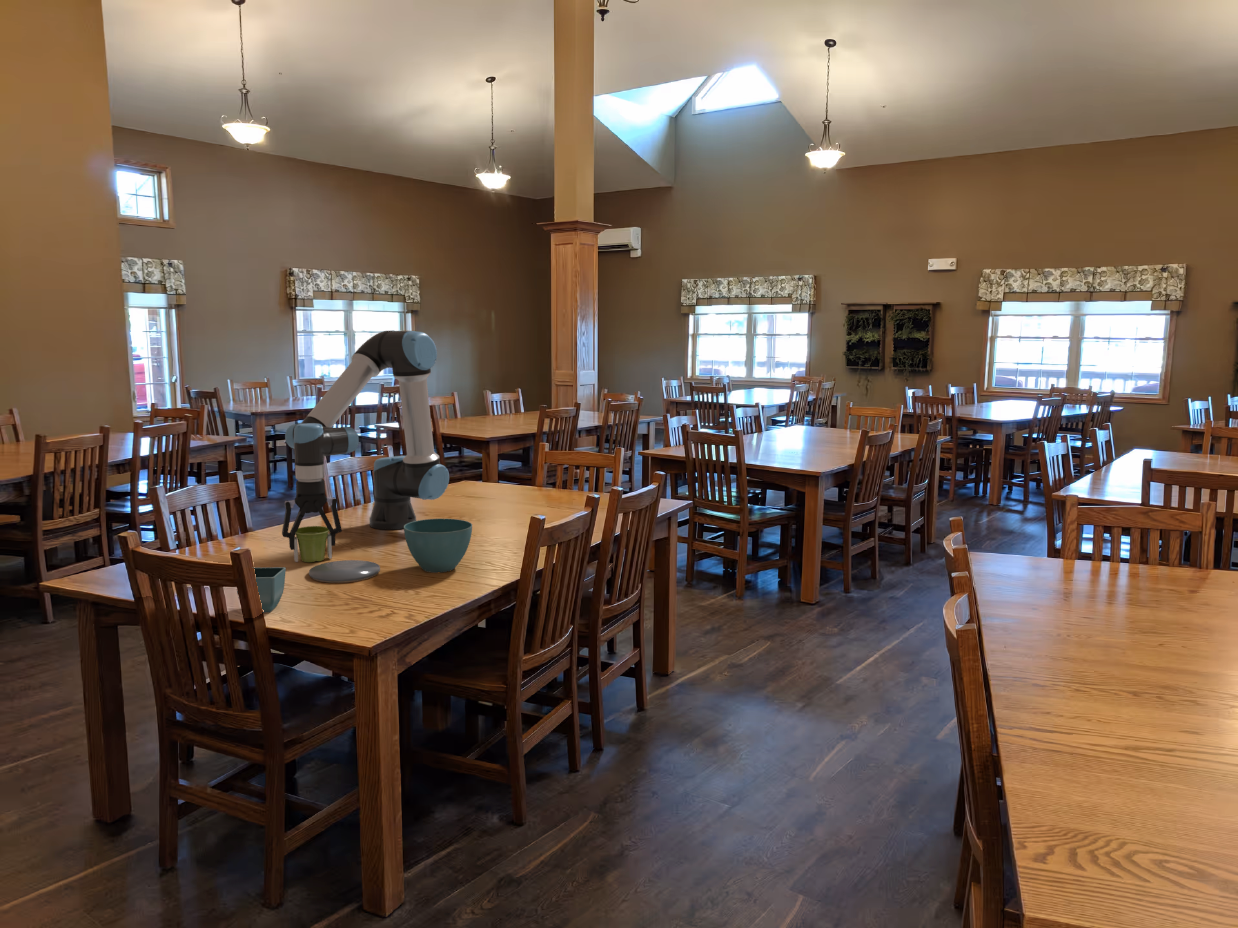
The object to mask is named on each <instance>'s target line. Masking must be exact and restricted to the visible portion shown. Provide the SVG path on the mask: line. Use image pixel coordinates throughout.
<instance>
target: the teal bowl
mask: <svg viewBox="0 0 1238 928" xmlns="http://www.w3.org/2000/svg"><path fill="white" fill-rule="evenodd" d="M403 532H404V533H403V534H404V538H405V542H406V545H407V547H408V550H409V552H410V554H411V556H412V558H413V559H414V561H415V562H416V563H417V564H418V565H419V567H420V568H421V569H422V570H423V571H425V572H428V573H435V574H437V573H438V572H440V573H447V571H448V572H451V571H453V570H455V568H456V567H457V566H459V563H460V562H461V561H462V559H463V558H464V556H465V555H466V552H467V551H468V548H469V545H470V542H471V537H472V533H473V524H472V522H470V521H467V520H463V519H457V518H456V519H455V518H428V519H427V518H425V519H419V520H416V521H414V522H410V523H408V524H406V525H404V528H403ZM450 570H451V571H450Z"/></svg>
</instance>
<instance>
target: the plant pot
mask: <svg viewBox="0 0 1238 928" xmlns="http://www.w3.org/2000/svg"><path fill="white" fill-rule="evenodd" d="M295 533H296V535H295V537H297V544H298V548H299V549H298V551H299V553H300V555H299V556H300V560H301V561H302V562H305V563H314V562H322V561H324V559H325V555H326V547H327V536H328V534H329V533H330V532H329V530H328V528H327V526H321V525H312V526H310V525H308V526H303V527H302V526H301V527H299V528H298V530H297V532H295Z"/></svg>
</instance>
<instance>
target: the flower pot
mask: <svg viewBox="0 0 1238 928" xmlns="http://www.w3.org/2000/svg"><path fill="white" fill-rule="evenodd" d="M253 568H254V569H255V574H256V582H257V586H258V592H259V595H260V600H261V603H262V609H263V610H264V612H263V613H271V612H272V611H274V610H275V608H276V607H277V606H278V605H279V603H280V602H281V599H282V596H283V594H284V590H285V581H286V569H287V568H286V567H284V566H283V567H277V566H276V567H272V566H271V567H253ZM236 592H237V593H236V594H238V591H237V590H236ZM237 598H238V599H239V597H238V596H237Z"/></svg>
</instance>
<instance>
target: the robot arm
mask: <svg viewBox="0 0 1238 928" xmlns="http://www.w3.org/2000/svg"><path fill="white" fill-rule="evenodd" d="M437 351H438V350H437V346H436V344H435V341H434V339H432V338H431V336H429V335H428V334H427V333H426V332H423V331H415V330H383V331H380V332H378V333H376V334H374V335H373V336H371V337H369V339H367V340H366V341H365V342H364V343H362V344H361V345H360V346H359V347H358V349H357V350H355V352H354V353H353V354H352V356H351V362H350V363H349V364H348V366H347V367H346V368H345V369H344V371H343V372H342V373H341V374H340V375H339V377H338V378H337V379H335V381H334V383H333V384H332V385H331V386H330V388H329V389H328V390H327V391H326V393H325V394H324V395H323V396H322V397H321V399H320V400H319V401H318V402H317V403H316V405H315V406H314V407H313V408H312V410H310V412H309V413H308V415H306V416H305V418H304V419H303V420H302V422H301V423H294V424H291V425H289V426H288V427H287V429H286V430H285V434H284V439H285V442H286V444H287V446H289V447H290V449H292V450H293V449H294V450H293V451H294V465H295V466H294V469H295V479H296V481H295V498H294V499H293V500H285V501H284V507H285V508H284V509H285V511H284V517H283V524H282V530H281V535H282V537H283V538H287V539H288V540H289V541H288V542H289V543H288V545H289V546H288V547H289V550H290V551H292V550H293V560H294V562H295V563H299V549H298V548H299V544H298V539H297V537H296V533H295V532H297V530H298V528H300V526H301V523H302V521H303V518H304V516H305V515H306V514H311V513H315V514H316V513H318V514H319V515H320V517H321V519H322V521H323V522H324V524H325V527H327V528H328V530H329V532H328V536H327V539H326V547H327V548H326V549H327V557H328V559H332V558H333V552H332V551H333V549H332V547H335V546H336V535H337V534H338V533H341V532H342V529H343V528H342V525H341V521H340V517H339V513H338V507H337V505H338V504H337V503H338V499H337V498H336V497H335V496H334V497H327V496H326V485H325V484H326V483H325V480H324V478H325V457H328V456H335V455H337V456H338V455H346V454H349V453H352V452H354V451H356V450H357V449H358V447H359V443H360V442H359V435H358V433H357V431H356V430H355V429H354V428H353V427H349V426H341V427H334V425H335V424H336V423H337V422H338V420H339V419H340V417H342V416H343V414H344V412H345V411H346V410H347V409H348V408H349V406H350V405H351V404H352V402H354V400H355V399H356V397H357V396H358V395H359V394H360V393H361V391H362V390H363V389H364V388H365V386H366V385H367V384H368V383H369V381H370V380H372V378H376V377H378V375H379V374H380V373H381V372H382V371H384V370H385V369H388V368H389V369H390V368H391V369H392V376H393V377H394V378H395V379H396V380H398V384H399V385H398V387H399V394H400V395H399V396H400V404H401V411H402V413H401V414H402V420H403V430H404V440H405V447H406V455H395V456H386V457H380V458H377V459H375V461H374V462H373V489H374V490H373V491H374V492H373V494H374V495H373V496H374V503H373V506H372V510H371V512H370V513H371V514H370V517H369V527H370V528H373V529H377V530H404V525H406V524H408V523H410V522H414V521H417V516H416V513H415V510H414V508H413V504H412V502H411V501H412V500H411V498H414V499H420V500H426V501H427V500H431V501H432V500H433V501H434V500H438V499H439V498H440V497H442V496H443V494H444V493H445V492H446V490H447V489H448V486H449V482H450V473H449V470H448V468H447V467H446V466H445V465H443V464H441V459H440V455H439V454H438V453H436V452H435V448H434V437H433V430H432V429H433V427H432V426H433V425H432V419H431V409H430V398H429V391H428V390H429V389H428V377H429V376H430V375H431V373H432V370H431V369H432V368H433V367H434V366H435V364H436V361H437V357H438V352H437ZM326 503H328V506H330V509H331V514H332V518H333V522H334V526H335V528H333V525H332V524H331V522H330V520H329V518H328V517H327V515H326V513H325V511H324V509H323V507H324V506H325V504H326ZM295 505H296V506H297V507H298V508H299V509H298V513H297V514H296V517H295V520H294V522H293V524H292V527H291V529H290V530H289V527H290V521H291V517H292V509H294V507H295Z"/></svg>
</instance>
